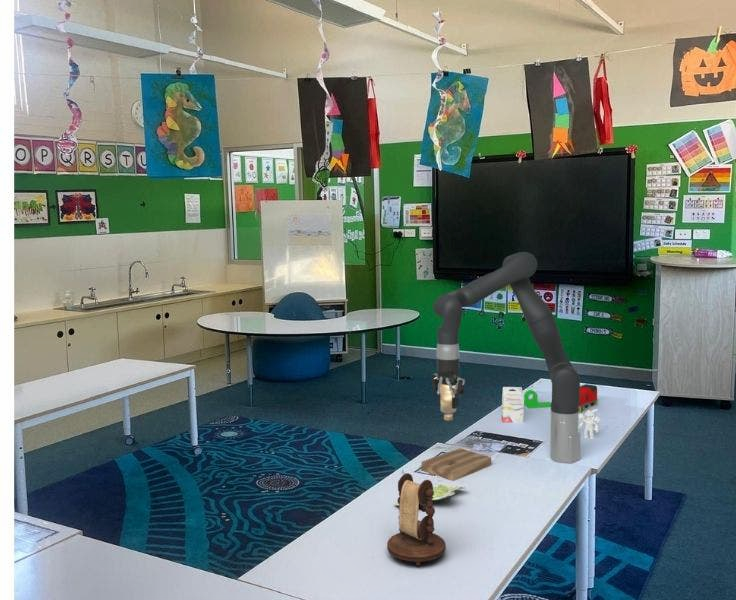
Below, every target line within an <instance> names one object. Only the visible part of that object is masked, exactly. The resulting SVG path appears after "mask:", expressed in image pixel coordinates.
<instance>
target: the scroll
mask: <svg viewBox="0 0 736 600" xmlns="http://www.w3.org/2000/svg"><path fill="white" fill-rule="evenodd" d="M433 487H434V484H433V482H432V481H431V480H429V479H424V480H422V482H421V483H419V482H415V481H414V478H413V475H412V474H411V473H409V472H407V473H404V474H403V475H401V477H400V478H399V479H398V481H397V490H398V495H399V497H398V498H397V503H398V504H399V506H398V507H399V510H398V516H397V517H398V526H399V528H398V530H399V532H398V533H396V534H394V535H392V536H391V537H389V539H388V540H387V543H386V548H387V551H388V553H389V554H390V555H391V556H392V557H394V558H397V559H399V560H403V561H406V562H414V563H415V564H416V566H417V567H420V565H421V562H428V561H433V560H435V559H438V558H440V557H441V556H443V555H444V553H445V552H446V548H447V547H446V541H445V539H444V538H443V537H442V536H440V535H438V534H436V533H434V532H435V526H434V525H435V521H434V519H433V517H434V515H435V514H436V509H435V508H434V507H433V506H434V502H433V501H434V500H432V499H433V497H432V496H433V495H434V491H433ZM425 505H427V506H425ZM419 511H421V512H423V513H425V514H426V515H425V516H424V517H422V519H421V520H419Z"/></svg>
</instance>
